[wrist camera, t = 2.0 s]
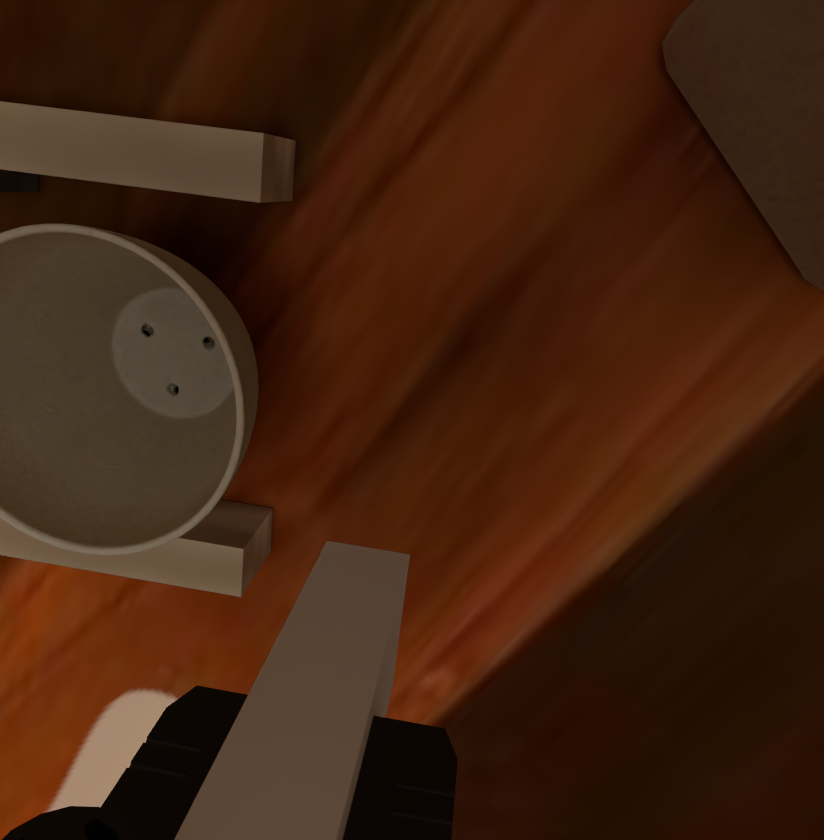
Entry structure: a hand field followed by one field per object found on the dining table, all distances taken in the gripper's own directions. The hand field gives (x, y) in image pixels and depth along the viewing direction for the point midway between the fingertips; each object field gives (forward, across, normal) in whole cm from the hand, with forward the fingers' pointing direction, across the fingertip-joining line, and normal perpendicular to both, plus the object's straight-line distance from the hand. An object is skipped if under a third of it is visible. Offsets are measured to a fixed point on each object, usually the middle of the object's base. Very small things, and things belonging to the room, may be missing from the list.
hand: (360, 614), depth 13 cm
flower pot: (+15, -10, 0) cm, 18 cm away
